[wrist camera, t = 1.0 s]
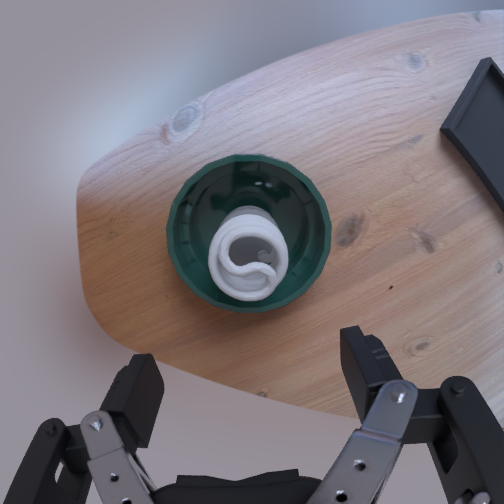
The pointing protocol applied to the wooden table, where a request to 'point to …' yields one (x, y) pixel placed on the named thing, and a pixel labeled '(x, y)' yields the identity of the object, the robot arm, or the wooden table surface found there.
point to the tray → (481, 126)
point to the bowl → (249, 194)
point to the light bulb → (248, 254)
